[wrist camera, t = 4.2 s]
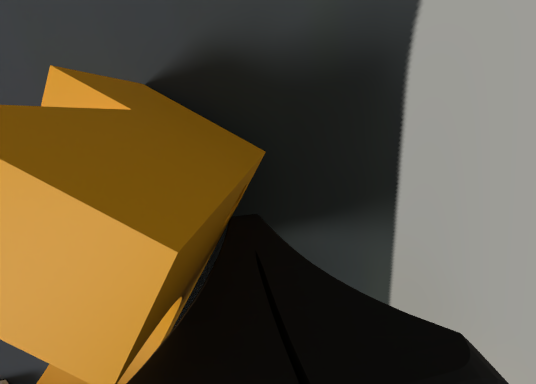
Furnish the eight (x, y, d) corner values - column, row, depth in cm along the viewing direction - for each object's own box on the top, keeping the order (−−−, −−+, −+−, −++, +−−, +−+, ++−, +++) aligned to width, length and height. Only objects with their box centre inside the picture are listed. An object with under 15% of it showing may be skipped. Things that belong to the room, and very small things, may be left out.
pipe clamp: (143, 84, 8) (-325, -11, 2) (265, 151, 8) (177, 252, 2) (54, 342, 12) (-217, 593, 6) (141, 386, 12) (-26, 677, 6)
